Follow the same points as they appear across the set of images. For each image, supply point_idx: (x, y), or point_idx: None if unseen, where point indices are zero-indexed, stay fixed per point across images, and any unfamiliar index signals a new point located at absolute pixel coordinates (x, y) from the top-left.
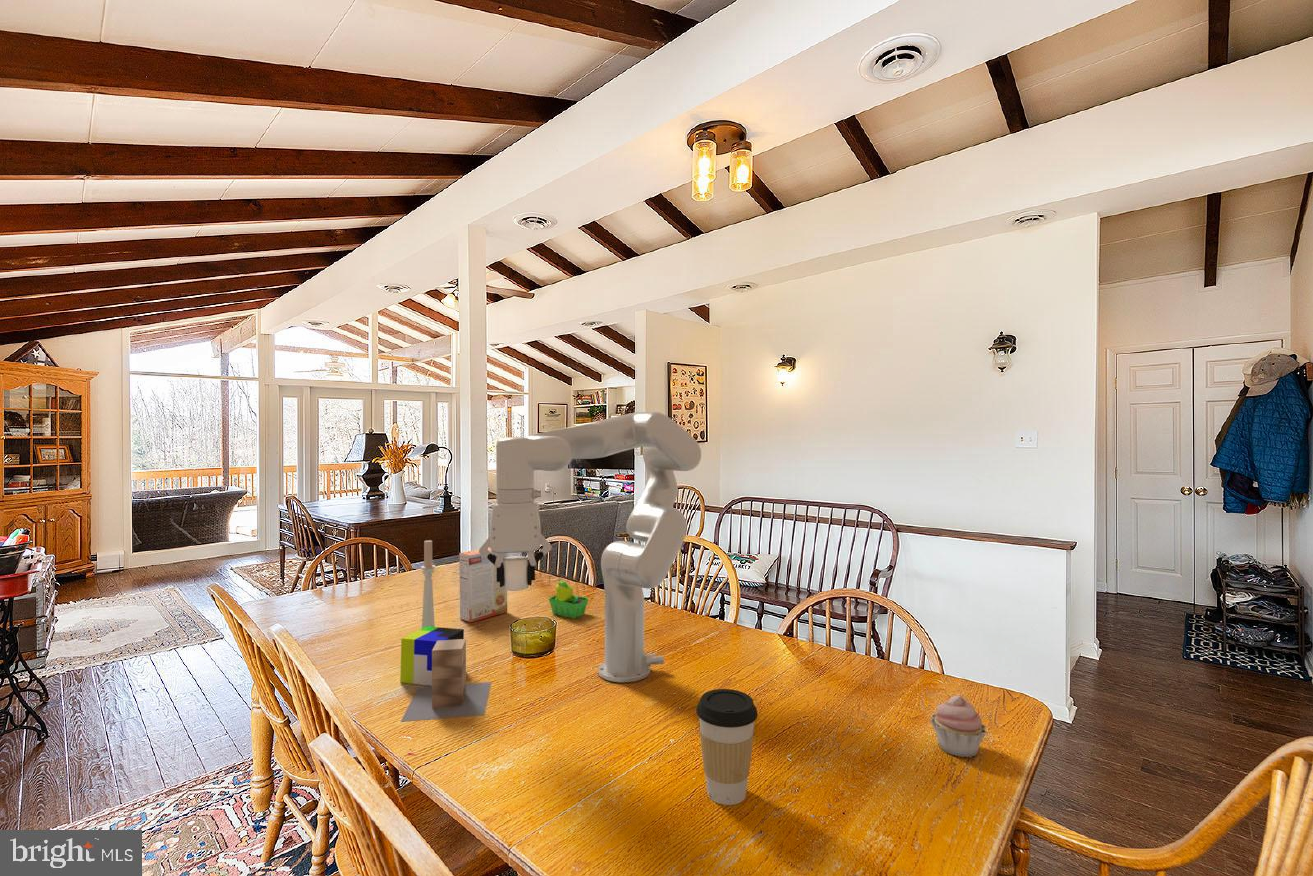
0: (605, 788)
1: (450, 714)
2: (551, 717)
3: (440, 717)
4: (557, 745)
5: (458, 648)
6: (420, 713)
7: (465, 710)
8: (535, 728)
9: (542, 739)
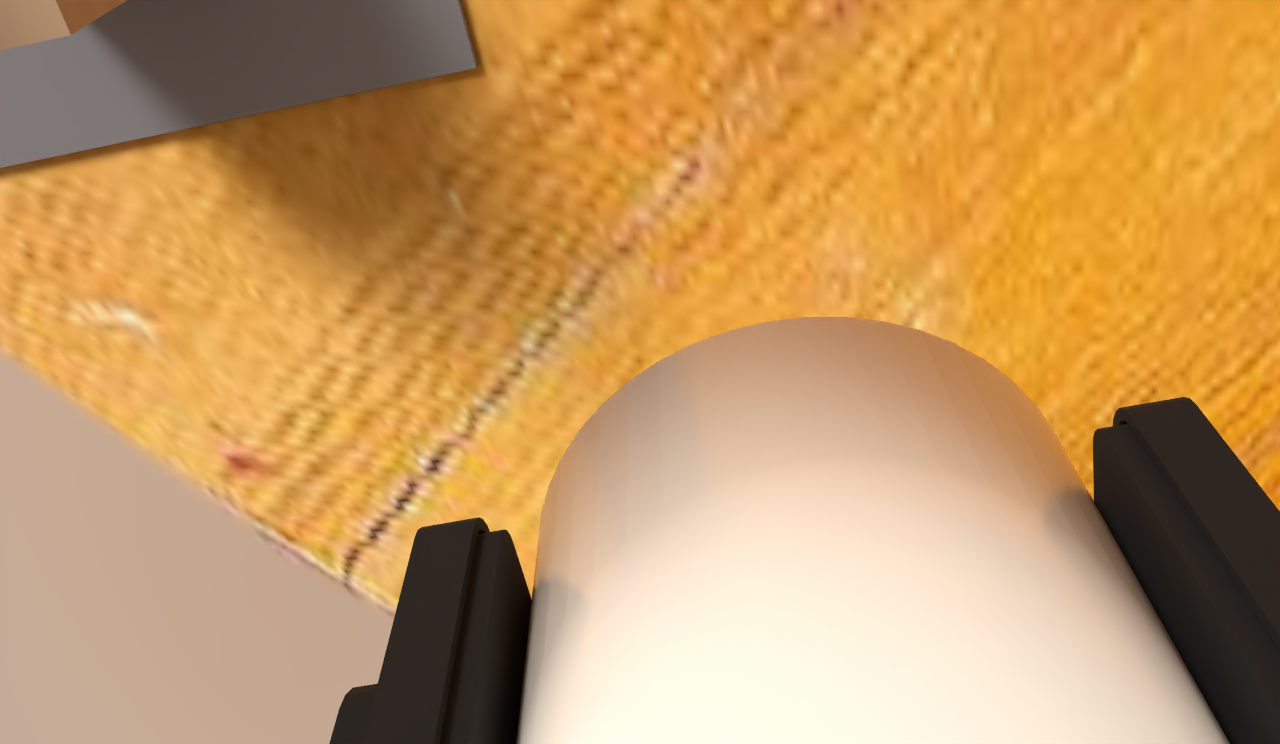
0: None
1: (235, 70)
2: (950, 54)
3: (188, 112)
4: (1005, 372)
5: (23, 26)
6: (11, 61)
7: (312, 4)
8: (859, 200)
9: (916, 318)
